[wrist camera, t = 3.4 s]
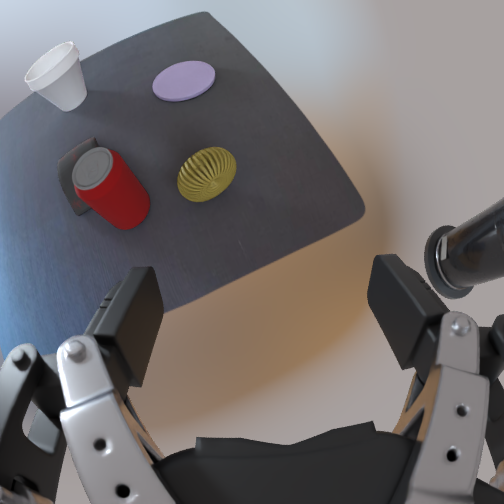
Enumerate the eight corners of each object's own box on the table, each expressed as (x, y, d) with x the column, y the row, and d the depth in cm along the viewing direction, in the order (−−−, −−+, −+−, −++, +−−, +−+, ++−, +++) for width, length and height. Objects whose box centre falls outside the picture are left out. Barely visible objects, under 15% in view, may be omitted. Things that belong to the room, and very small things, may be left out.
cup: (98, 102, 44) (71, 56, 30) (51, 130, 42) (19, 92, 29) (97, 74, 47) (76, 33, 33) (54, 99, 45) (29, 63, 32)
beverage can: (146, 181, 38) (113, 132, 26) (157, 219, 36) (121, 175, 25) (107, 200, 37) (65, 159, 26) (116, 239, 36) (69, 205, 24)
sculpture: (227, 165, 38) (221, 129, 31) (243, 184, 38) (241, 150, 30) (180, 195, 37) (163, 165, 30) (194, 216, 36) (180, 188, 29)
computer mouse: (99, 138, 41) (90, 124, 37) (116, 194, 38) (104, 181, 34) (64, 161, 40) (53, 150, 36) (75, 220, 37) (61, 210, 33)
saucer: (214, 60, 46) (213, 56, 45) (217, 96, 42) (216, 92, 42) (156, 71, 45) (155, 67, 44) (150, 108, 42) (149, 104, 41)
